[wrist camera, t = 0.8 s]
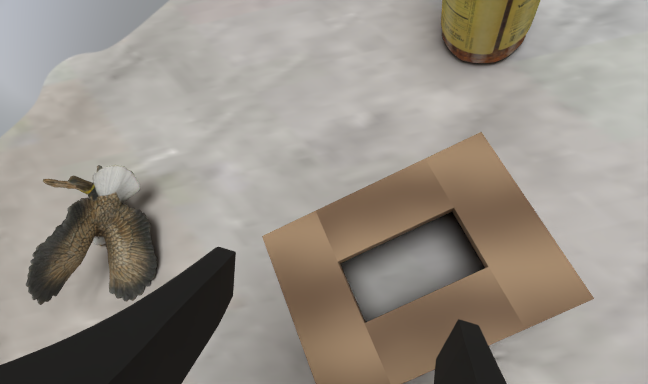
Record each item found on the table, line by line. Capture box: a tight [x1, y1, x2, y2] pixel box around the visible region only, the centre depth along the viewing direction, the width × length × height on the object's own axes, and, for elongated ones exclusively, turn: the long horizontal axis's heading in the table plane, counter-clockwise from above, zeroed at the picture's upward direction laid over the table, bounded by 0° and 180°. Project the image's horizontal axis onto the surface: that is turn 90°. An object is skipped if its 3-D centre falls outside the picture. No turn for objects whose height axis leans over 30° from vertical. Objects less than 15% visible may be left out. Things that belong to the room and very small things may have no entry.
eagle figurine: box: [26, 165, 157, 305], centre depth 27 cm, size 8×7×9 cm
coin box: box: [262, 132, 594, 384], centre depth 23 cm, size 10×14×5 cm
